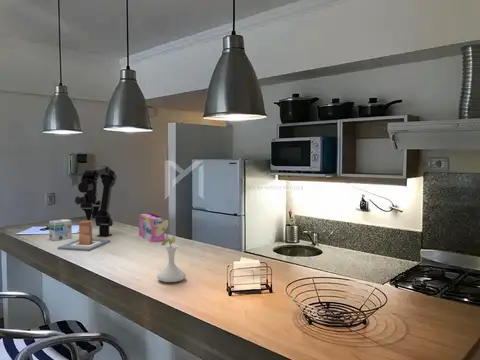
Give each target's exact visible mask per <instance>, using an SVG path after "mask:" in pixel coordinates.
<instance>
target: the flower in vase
mask: <svg viewBox="0 0 480 360" xmlns="http://www.w3.org/2000/svg"><path fill="white" fill-rule="evenodd" d="M168 225H169V221H168V219H164V221H163V222H162V223H161V226H160V225H159V226H158V229H157V231H156V232H155V233H156V234H155V236H157V237H158V236H160V235H161V234H162V233H164V234H165V236H166V239H164V241H161V245H160V246H165V249H166V250H167V255H168V263H167V265H166V266H165V267H164V268H163V269H162V270H160V271H159V273H158V274H157V277H156V278H157V280H159V281H161V282H164V283H177V282H180V281H183V280H184V279H185V278H186V277H187V276H186V272H185V271H183V270H182V268H179V267H178V266H177V264H176V262H175V256H176V255H175V254H176V250H177V249H178V247H179V246H178V245H177V244H176V245H175V244H174V243H175V242H176V237H175V236H173V237H171V238H170V239H169V235H168V233H167V228H168ZM167 243H168V244H167Z"/></svg>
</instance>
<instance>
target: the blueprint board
mask: <svg viewBox="0 0 480 360" xmlns="http://www.w3.org/2000/svg"><path fill="white" fill-rule="evenodd" d="M109 243H111V240H110V239H93V238H92V244H91V245H79V239H77V240H74V241H71V242H69V243H65V244H63V245H61V246H57V250H65V251H77V252H78V251H80V252H90V251H93V250H96V249H98V248H100V247H102V246H104V245H106V244H109Z"/></svg>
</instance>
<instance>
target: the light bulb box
mask: <svg viewBox="0 0 480 360" xmlns="http://www.w3.org/2000/svg"><path fill="white" fill-rule="evenodd" d="M72 222H73V221H72V220H71V219H67V218H65V219H56V220H49V222H48V227H49V230H48V231H49V233H48V234H49V236H48V237H49V240H51V241H63V240H68V239H72V238H73V237H72V236H73V235H72V233H73V232H72V231H73V230H72V229H73V228H72V226H73V224H72Z"/></svg>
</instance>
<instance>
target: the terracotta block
mask: <svg viewBox="0 0 480 360" xmlns="http://www.w3.org/2000/svg"><path fill="white" fill-rule="evenodd" d="M78 223H79V224H78V240H79V245H91V244H92V239H93V221H92V220H80V221H79V222H78Z"/></svg>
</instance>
